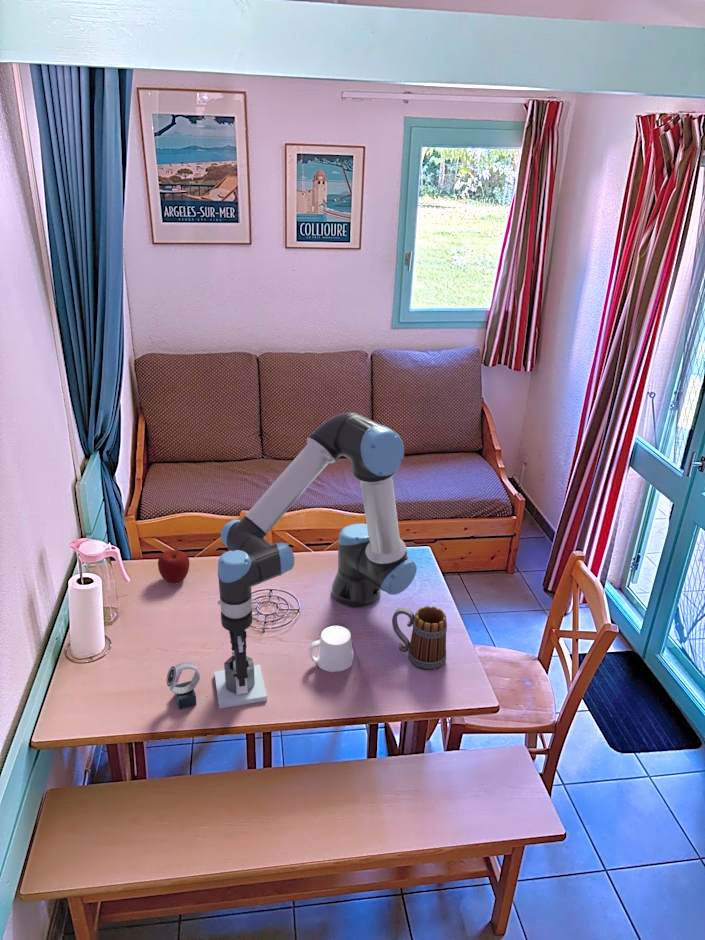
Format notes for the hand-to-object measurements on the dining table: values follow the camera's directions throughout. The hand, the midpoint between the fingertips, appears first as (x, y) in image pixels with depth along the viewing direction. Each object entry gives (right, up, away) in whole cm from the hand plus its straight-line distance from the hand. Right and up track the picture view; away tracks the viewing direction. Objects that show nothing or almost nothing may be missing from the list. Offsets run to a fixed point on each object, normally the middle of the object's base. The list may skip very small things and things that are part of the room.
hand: (240, 681), depth 187 cm
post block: (0, -2, +1) cm, 2 cm away
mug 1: (+23, +2, +11) cm, 25 cm away
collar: (0, 0, 0) cm, 0 cm away
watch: (-13, -4, -3) cm, 14 cm away
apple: (-27, +20, +42) cm, 54 cm away
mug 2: (+47, +3, +14) cm, 49 cm away
